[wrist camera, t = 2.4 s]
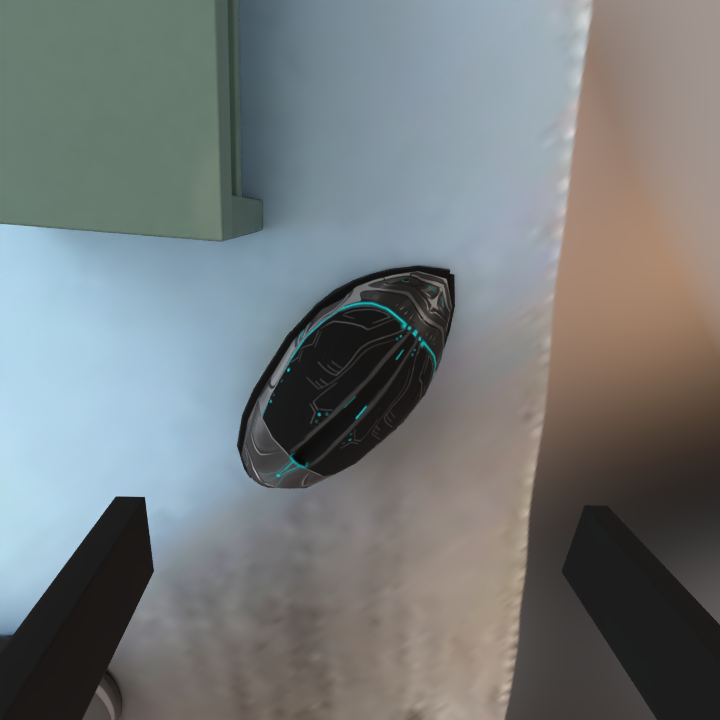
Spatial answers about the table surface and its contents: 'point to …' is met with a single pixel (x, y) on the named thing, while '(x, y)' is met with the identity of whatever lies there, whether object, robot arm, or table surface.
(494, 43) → the table surface
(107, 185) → the desk shelf
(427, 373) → the computer mouse
